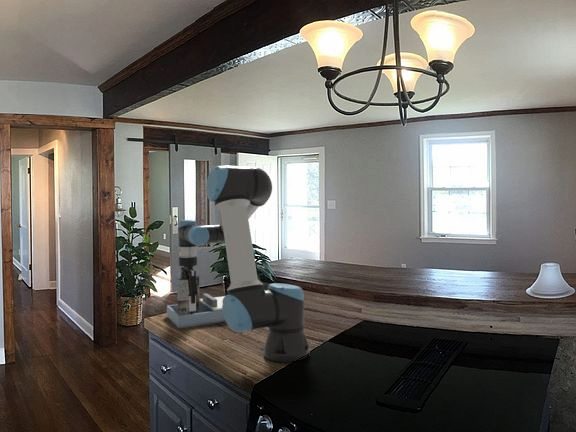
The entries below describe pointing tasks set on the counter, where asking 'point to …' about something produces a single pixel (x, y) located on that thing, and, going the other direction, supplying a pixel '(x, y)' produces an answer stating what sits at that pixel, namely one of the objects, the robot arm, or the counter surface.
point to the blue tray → (194, 317)
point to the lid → (212, 302)
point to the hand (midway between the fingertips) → (188, 308)
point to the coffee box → (186, 296)
